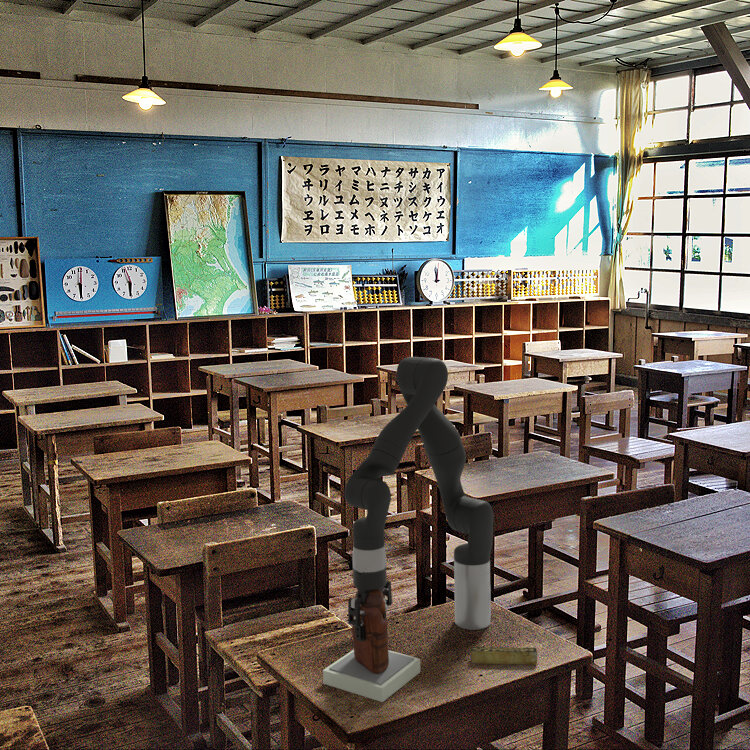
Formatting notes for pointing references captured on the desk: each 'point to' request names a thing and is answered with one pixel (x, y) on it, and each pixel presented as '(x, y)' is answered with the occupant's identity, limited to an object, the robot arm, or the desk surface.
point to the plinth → (371, 675)
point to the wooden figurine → (373, 634)
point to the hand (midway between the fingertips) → (371, 633)
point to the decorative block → (503, 655)
